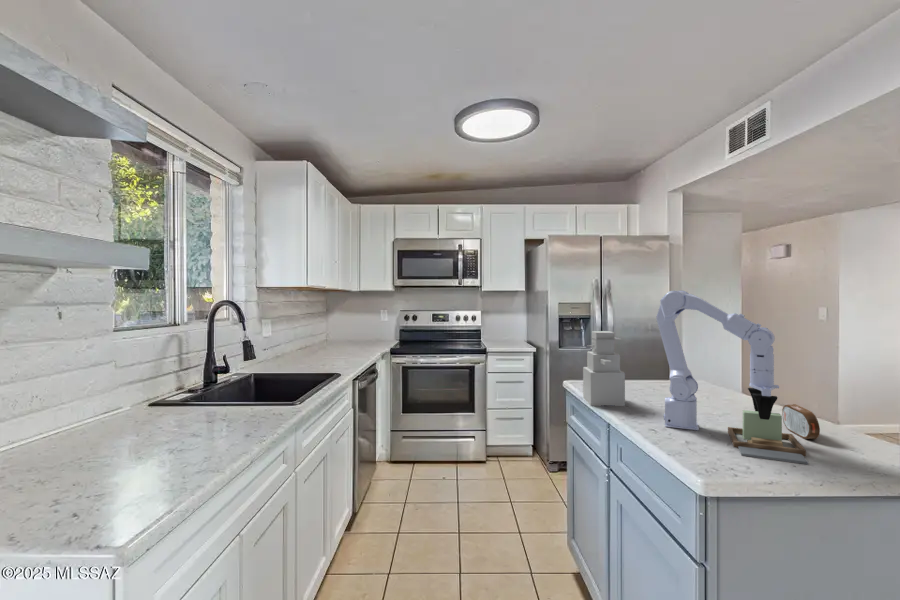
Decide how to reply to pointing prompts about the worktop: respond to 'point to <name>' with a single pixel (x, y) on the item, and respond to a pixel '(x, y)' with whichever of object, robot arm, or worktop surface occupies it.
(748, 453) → the slate mat
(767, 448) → the brown flat square frame
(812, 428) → the tin
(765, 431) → the board
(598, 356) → the stacked tiered boxes
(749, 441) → the offcut stack
